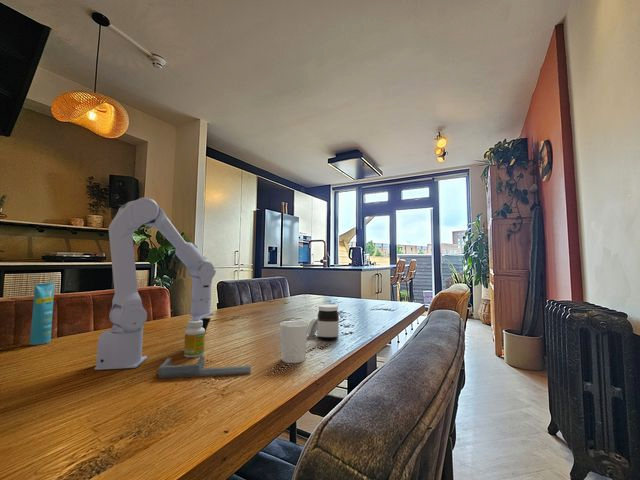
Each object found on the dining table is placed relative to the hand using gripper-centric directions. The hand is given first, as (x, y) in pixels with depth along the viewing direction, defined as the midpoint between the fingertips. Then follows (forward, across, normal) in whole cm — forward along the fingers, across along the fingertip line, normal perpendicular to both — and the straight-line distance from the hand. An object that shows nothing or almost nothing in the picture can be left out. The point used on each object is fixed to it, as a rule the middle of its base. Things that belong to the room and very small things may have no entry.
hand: (199, 342), depth 94 cm
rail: (+1, -21, -6) cm, 22 cm away
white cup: (+2, -16, -28) cm, 32 cm away
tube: (+2, +12, +50) cm, 51 cm away
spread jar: (+2, +5, -41) cm, 41 cm away
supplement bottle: (+2, -8, 0) cm, 8 cm away
